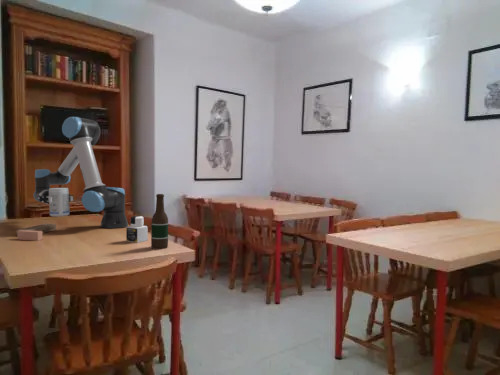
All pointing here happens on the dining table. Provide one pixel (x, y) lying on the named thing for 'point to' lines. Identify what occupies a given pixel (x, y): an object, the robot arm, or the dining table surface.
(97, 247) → the dining table surface
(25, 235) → the block
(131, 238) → the medicine bottle
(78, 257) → the dining table surface
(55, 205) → the supplement tub
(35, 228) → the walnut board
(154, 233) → the beer bottle
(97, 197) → the robot arm
